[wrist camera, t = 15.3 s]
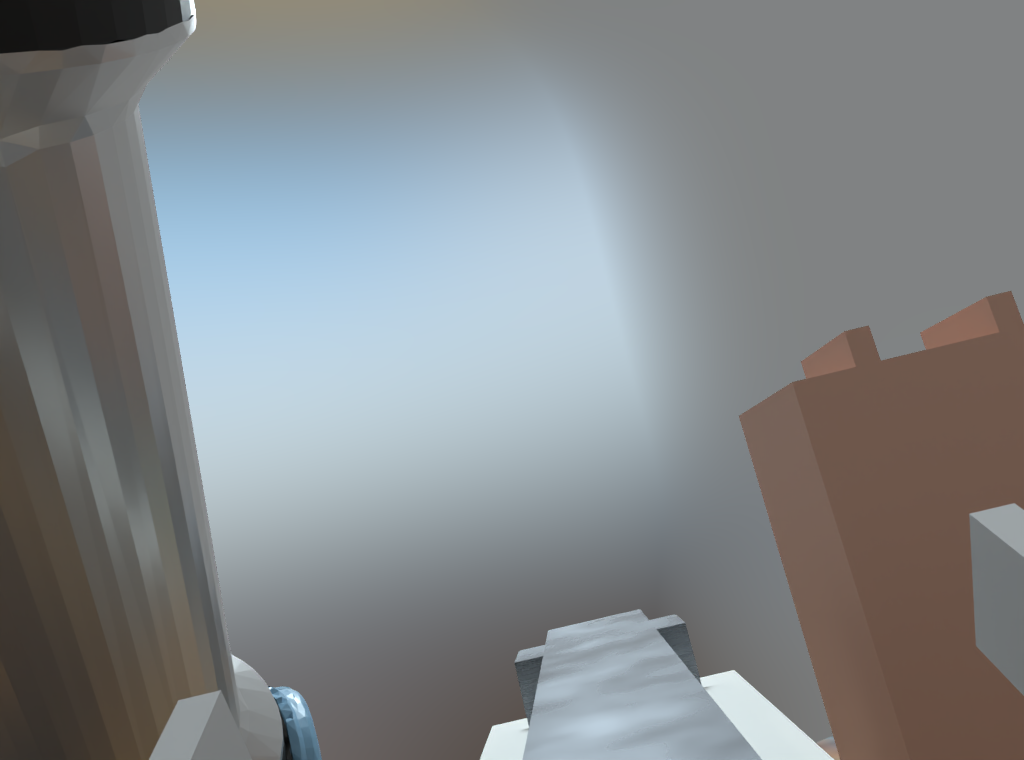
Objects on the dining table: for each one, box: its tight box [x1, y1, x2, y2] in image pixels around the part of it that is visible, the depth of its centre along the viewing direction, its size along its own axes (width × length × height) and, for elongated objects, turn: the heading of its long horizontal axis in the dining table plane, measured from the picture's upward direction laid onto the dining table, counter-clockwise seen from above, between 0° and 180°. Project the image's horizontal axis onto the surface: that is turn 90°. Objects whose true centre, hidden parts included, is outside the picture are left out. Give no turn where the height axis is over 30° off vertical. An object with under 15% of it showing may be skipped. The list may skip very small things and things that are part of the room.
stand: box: [739, 291, 1024, 760], centre depth 33 cm, size 12×10×32 cm
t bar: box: [515, 609, 762, 760], centre depth 18 cm, size 6×22×4 cm, turn 176°
